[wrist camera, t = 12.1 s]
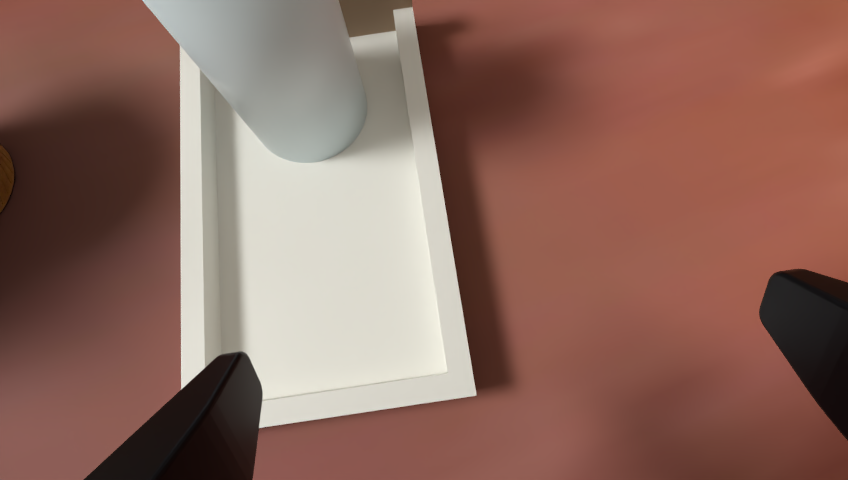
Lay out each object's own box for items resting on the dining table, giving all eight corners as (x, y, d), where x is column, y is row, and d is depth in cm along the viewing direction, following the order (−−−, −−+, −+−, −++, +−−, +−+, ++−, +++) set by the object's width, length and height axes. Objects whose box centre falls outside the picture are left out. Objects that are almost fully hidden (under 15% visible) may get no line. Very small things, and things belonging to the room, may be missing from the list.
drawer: (472, 390, 20) (479, 399, 16) (212, 429, 20) (158, 447, 16) (412, 25, 25) (407, -34, 21) (204, 56, 25) (162, 2, 21)
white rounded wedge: (391, 108, 23) (331, -192, 10) (304, 186, 22) (122, -40, 9) (315, 40, 24) (179, -303, 12) (230, 111, 23) (-20, -178, 11)
